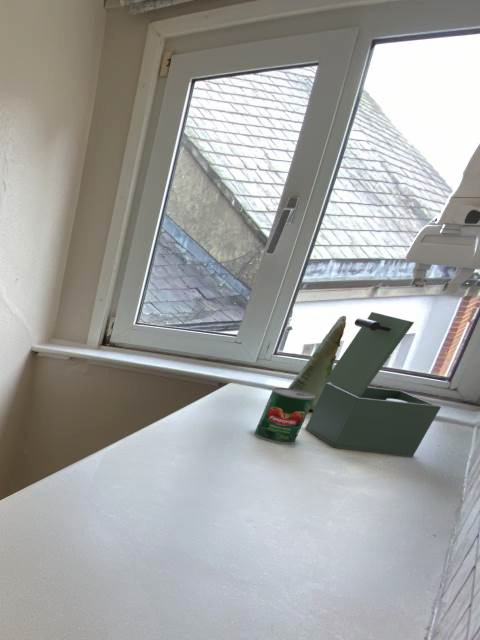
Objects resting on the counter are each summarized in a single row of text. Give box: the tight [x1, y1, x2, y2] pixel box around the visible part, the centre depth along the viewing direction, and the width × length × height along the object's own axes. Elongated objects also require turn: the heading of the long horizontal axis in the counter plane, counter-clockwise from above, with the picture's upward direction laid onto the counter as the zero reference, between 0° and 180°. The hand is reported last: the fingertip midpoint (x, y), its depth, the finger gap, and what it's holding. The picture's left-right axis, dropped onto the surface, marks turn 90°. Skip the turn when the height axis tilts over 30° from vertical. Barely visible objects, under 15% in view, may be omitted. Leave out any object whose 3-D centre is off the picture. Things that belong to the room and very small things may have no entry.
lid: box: [326, 311, 415, 396], centre depth 121 cm, size 16×13×5 cm
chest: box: [304, 382, 442, 458], centre depth 126 cm, size 16×13×12 cm
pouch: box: [287, 315, 347, 411], centre depth 147 cm, size 11×12×25 cm
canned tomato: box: [253, 387, 315, 445], centre depth 126 cm, size 8×8×11 cm
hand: (431, 289), depth 114 cm, fingers open, 8 cm apart
